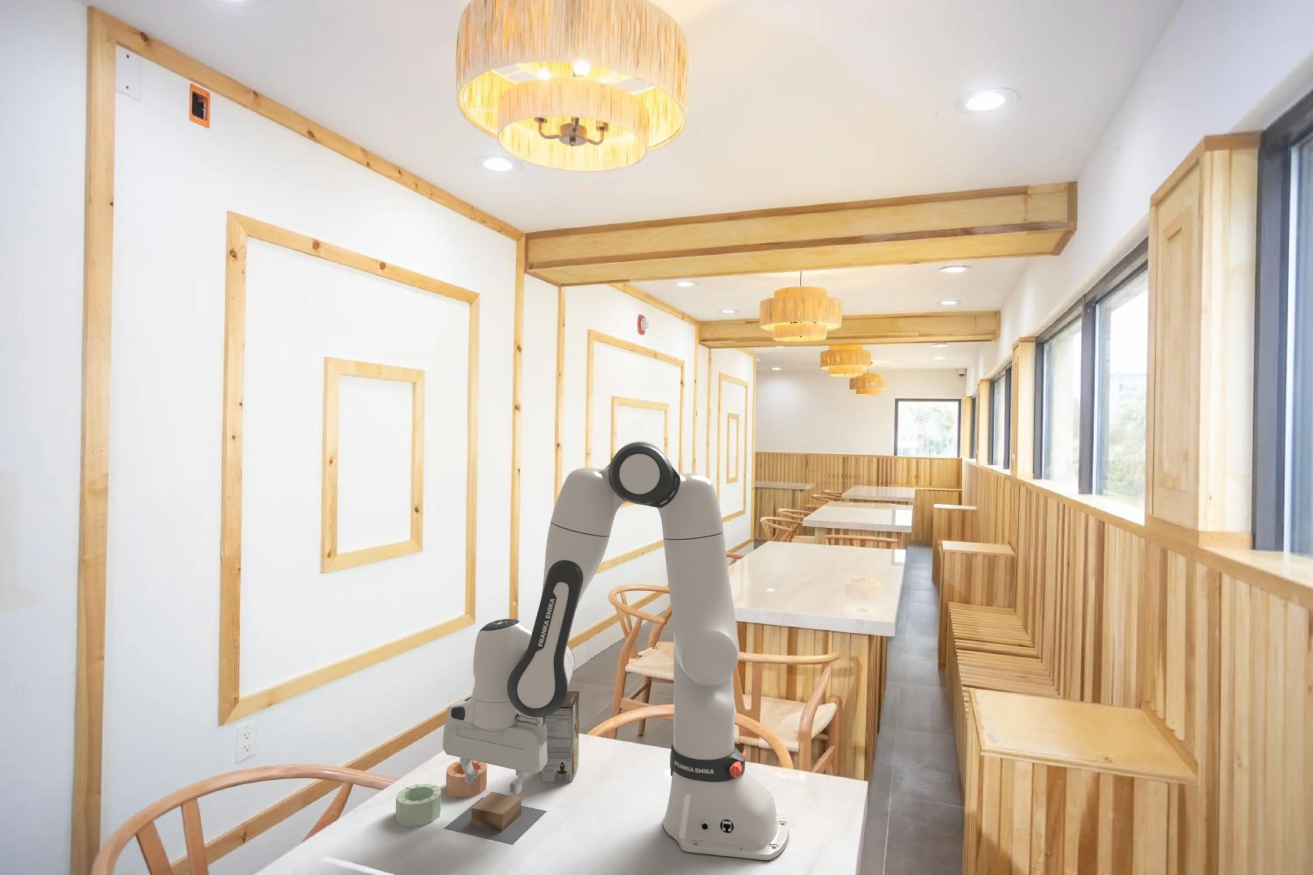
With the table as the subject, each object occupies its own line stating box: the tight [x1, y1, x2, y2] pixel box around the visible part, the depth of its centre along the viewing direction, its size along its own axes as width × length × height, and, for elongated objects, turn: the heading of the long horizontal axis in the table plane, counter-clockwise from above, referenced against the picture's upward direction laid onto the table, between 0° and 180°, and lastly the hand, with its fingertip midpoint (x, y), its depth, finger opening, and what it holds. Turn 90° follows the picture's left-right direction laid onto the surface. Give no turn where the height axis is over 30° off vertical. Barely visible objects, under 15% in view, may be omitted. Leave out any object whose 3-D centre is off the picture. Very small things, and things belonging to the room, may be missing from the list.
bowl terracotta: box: [445, 760, 488, 799], centre depth 143 cm, size 8×8×4 cm
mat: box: [443, 796, 548, 845], centre depth 132 cm, size 14×12×1 cm
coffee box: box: [541, 690, 580, 784], centre depth 151 cm, size 9×6×16 cm
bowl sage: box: [395, 783, 442, 828], centre depth 133 cm, size 8×8×4 cm
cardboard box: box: [471, 791, 522, 832], centre depth 132 cm, size 6×6×3 cm
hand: (493, 786), depth 132 cm, fingers open, 8 cm apart
